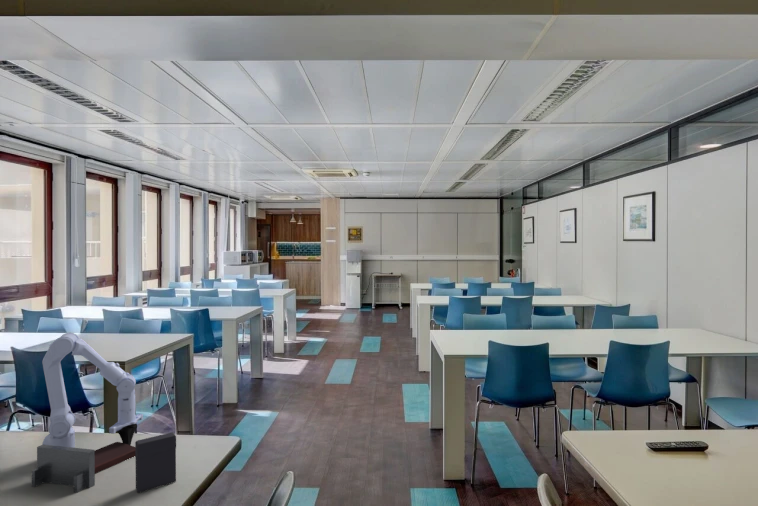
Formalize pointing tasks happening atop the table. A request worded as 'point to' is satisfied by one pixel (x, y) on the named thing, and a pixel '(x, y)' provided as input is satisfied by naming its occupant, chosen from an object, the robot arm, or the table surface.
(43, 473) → the bookend
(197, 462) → the table surface
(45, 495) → the table surface
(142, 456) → the upright charcoal tile
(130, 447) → the book
